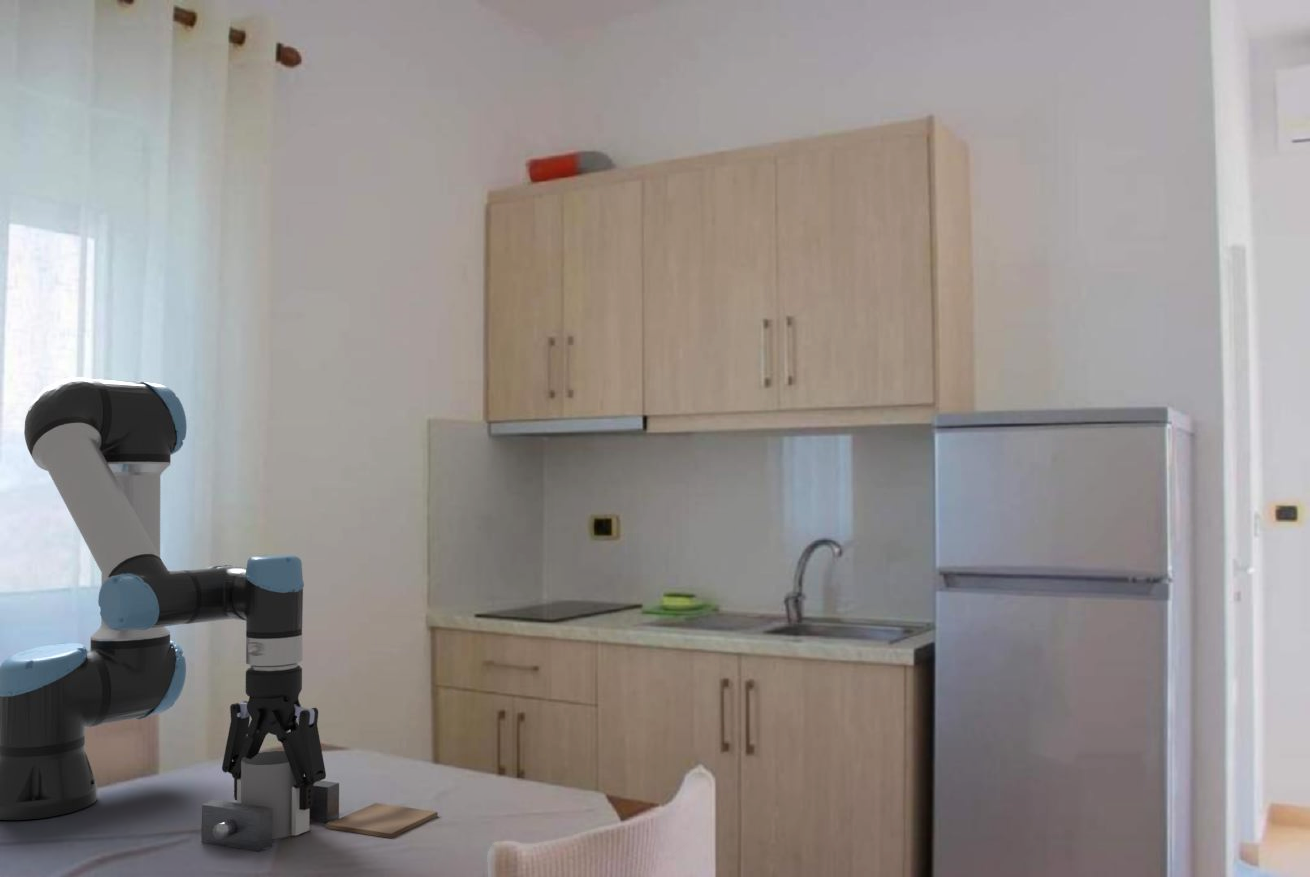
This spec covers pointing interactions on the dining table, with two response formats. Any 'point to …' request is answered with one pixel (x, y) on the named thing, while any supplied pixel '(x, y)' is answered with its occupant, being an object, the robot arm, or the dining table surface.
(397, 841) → the dining table surface
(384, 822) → the board
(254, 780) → the cup
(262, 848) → the vise jaws
